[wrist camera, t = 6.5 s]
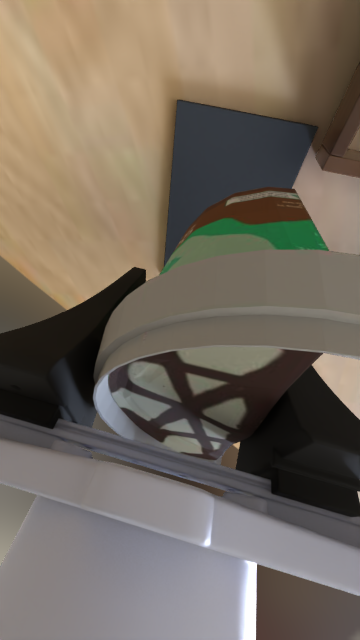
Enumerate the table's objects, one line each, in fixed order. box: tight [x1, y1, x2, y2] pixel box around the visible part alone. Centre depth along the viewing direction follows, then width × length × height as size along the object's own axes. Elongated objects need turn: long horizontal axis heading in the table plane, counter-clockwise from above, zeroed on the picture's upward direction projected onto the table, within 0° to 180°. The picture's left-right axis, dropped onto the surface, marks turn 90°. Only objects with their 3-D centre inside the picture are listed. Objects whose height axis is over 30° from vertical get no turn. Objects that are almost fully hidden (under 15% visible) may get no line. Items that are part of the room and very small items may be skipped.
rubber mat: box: [164, 100, 318, 267], centre depth 18 cm, size 8×13×1 cm, turn 173°
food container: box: [93, 187, 360, 465], centre depth 11 cm, size 12×6×10 cm, turn 174°
